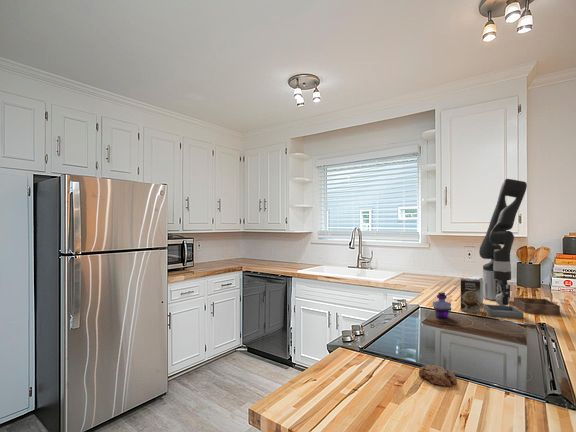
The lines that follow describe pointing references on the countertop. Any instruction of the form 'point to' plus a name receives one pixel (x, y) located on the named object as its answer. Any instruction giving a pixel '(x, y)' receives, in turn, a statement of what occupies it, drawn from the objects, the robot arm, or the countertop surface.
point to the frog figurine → (500, 299)
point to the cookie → (438, 375)
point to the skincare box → (480, 286)
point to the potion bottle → (442, 306)
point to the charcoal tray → (503, 311)
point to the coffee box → (470, 295)
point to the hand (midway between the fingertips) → (502, 302)
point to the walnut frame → (536, 306)
